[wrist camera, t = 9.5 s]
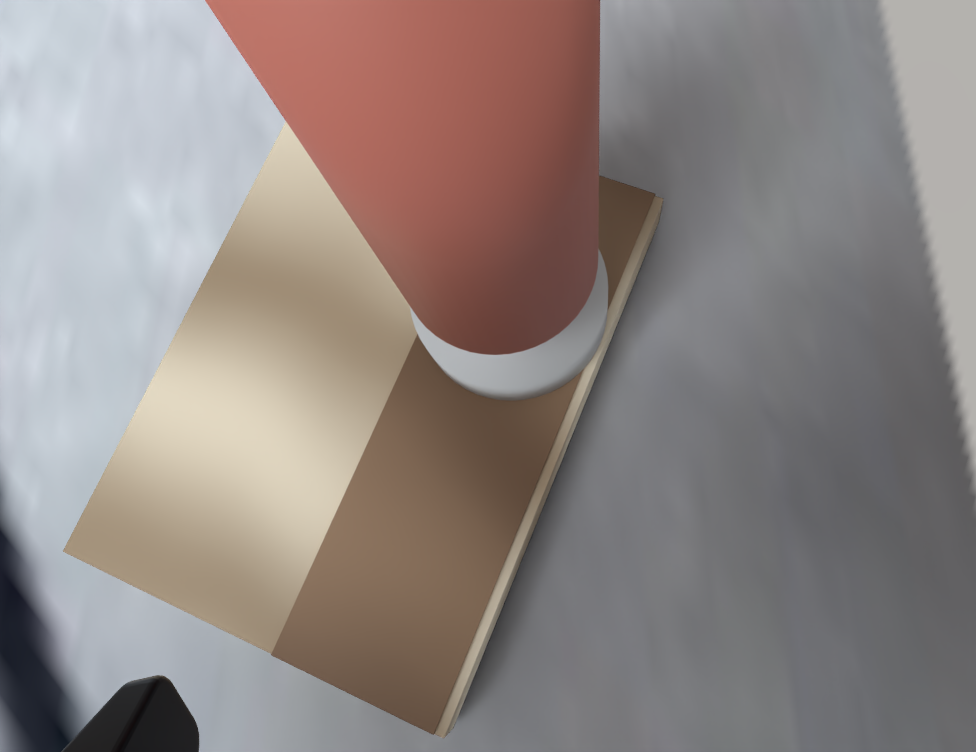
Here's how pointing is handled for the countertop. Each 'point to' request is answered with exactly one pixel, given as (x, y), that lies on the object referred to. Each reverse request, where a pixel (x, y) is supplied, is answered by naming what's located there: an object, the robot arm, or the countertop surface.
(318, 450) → the board
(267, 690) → the countertop surface
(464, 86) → the pink cylinder white base
